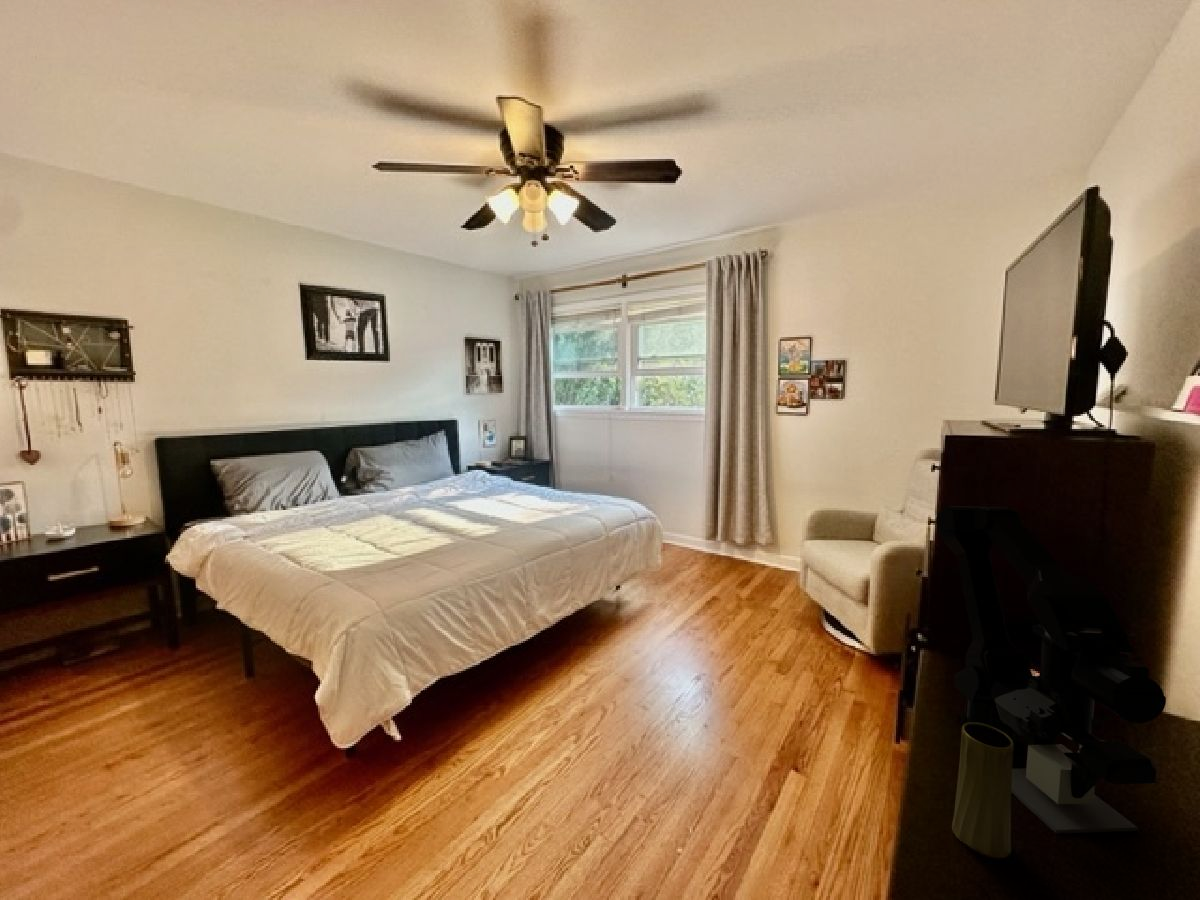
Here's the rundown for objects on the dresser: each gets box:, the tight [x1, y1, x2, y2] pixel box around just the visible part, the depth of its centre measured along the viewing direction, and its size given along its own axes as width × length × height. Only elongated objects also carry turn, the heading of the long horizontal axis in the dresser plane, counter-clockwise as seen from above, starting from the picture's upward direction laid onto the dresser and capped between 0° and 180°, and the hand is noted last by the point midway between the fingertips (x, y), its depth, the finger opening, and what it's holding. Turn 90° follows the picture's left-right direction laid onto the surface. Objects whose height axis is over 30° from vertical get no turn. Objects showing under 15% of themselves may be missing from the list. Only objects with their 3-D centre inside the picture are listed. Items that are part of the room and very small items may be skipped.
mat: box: [1011, 767, 1139, 834], centre depth 71 cm, size 11×11×1 cm
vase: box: [951, 722, 1015, 858], centre depth 64 cm, size 6×6×14 cm
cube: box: [1025, 743, 1096, 804], centre depth 71 cm, size 5×5×5 cm
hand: (1058, 782), depth 71 cm, fingers closed on cube, 5 cm apart
